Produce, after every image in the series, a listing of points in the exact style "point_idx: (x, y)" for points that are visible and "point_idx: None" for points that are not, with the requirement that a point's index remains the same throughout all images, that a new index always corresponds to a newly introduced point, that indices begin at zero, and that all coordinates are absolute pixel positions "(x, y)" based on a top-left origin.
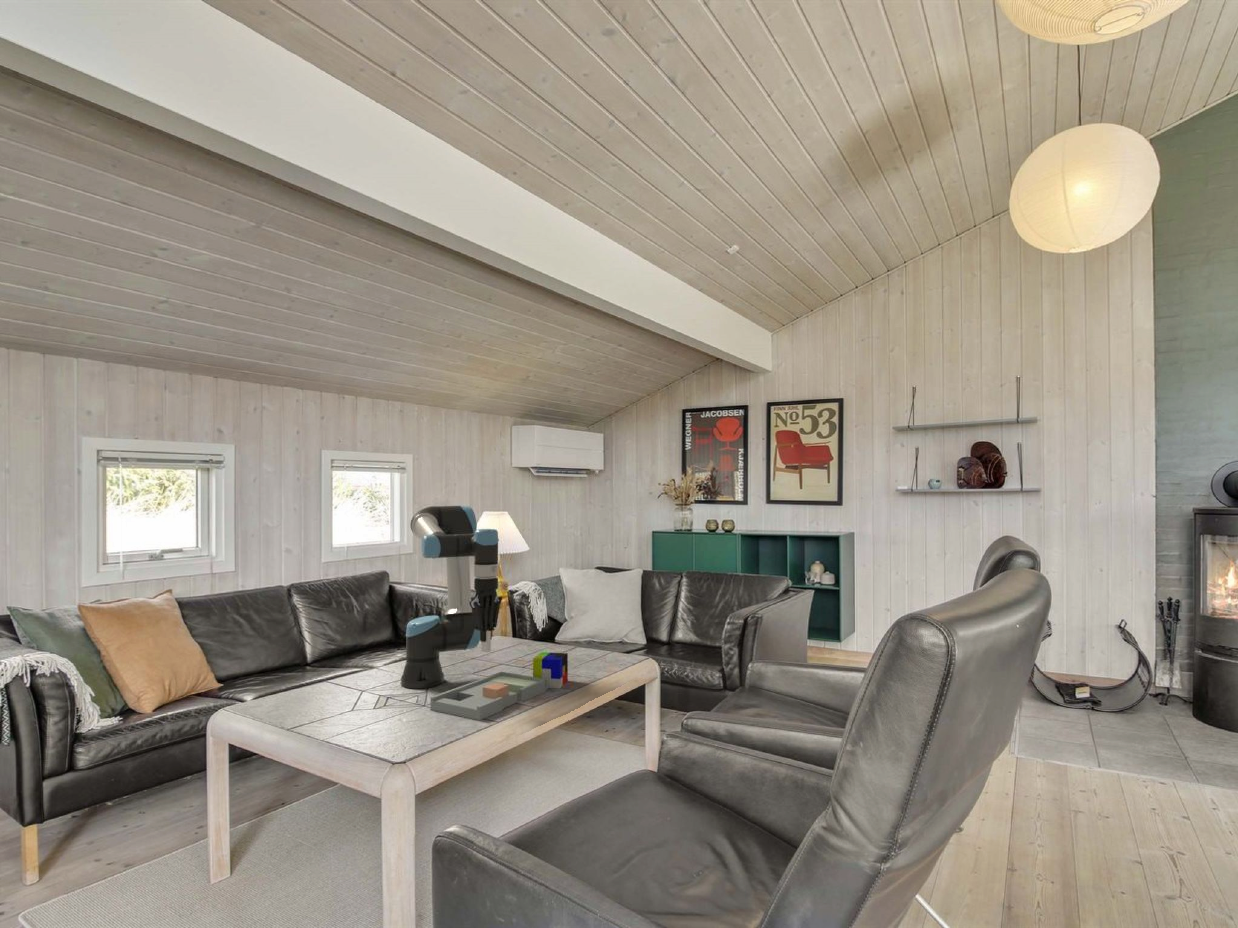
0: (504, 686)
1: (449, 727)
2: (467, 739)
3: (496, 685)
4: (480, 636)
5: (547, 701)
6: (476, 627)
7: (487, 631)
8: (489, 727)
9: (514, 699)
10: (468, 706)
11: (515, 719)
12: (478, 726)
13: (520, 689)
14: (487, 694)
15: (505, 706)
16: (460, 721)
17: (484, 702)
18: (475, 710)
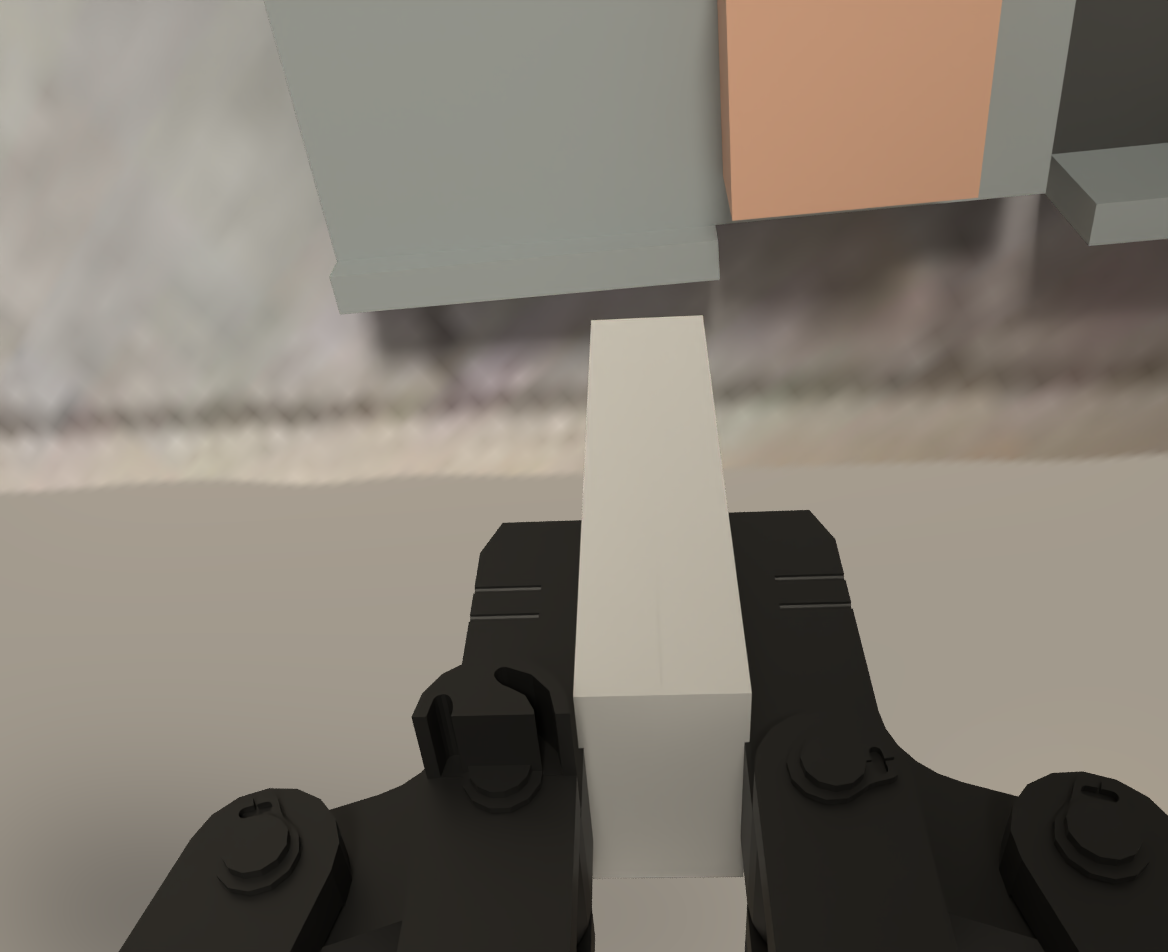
0: (902, 190)
1: (52, 174)
2: (58, 475)
3: (891, 67)
4: (471, 631)
5: (1142, 375)
6: (201, 923)
7: (623, 856)
8: (322, 432)
9: None
10: (339, 105)
11: None
12: (269, 353)
13: (1092, 218)
14: (720, 34)
15: None
16: (215, 129)
17: (554, 144)
18: (335, 241)
